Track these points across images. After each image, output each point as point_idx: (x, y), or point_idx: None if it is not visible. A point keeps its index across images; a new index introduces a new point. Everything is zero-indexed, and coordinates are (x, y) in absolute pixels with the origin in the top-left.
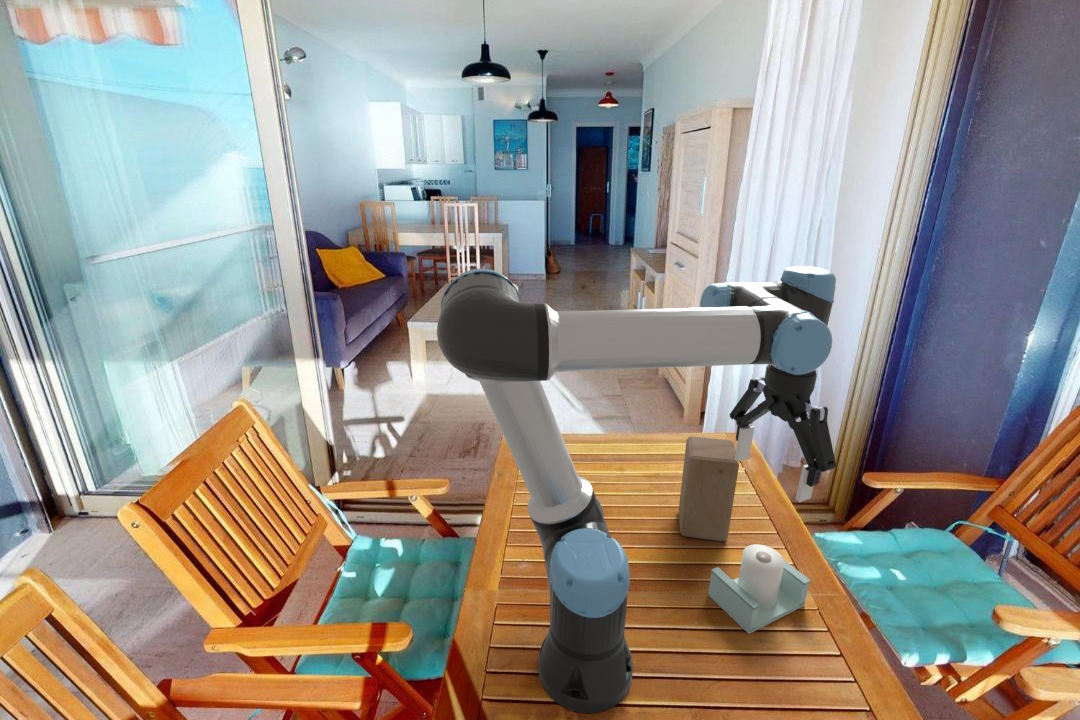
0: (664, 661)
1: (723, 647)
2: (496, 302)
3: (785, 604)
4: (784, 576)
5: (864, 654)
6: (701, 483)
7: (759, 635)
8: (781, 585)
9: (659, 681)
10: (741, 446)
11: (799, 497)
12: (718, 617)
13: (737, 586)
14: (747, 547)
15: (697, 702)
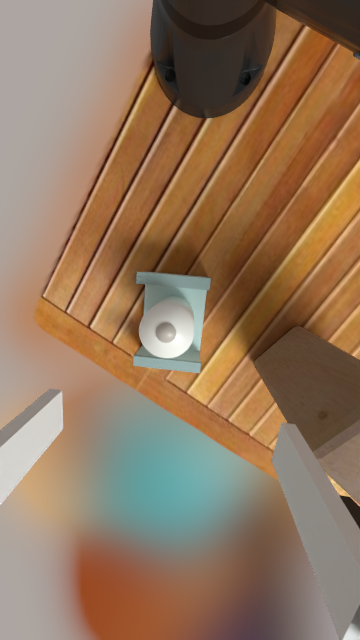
0: (168, 157)
1: (148, 233)
2: None
3: None
4: None
5: (80, 344)
6: (331, 374)
7: None
8: None
9: (152, 132)
10: (306, 477)
11: (41, 397)
12: (179, 261)
13: (171, 283)
14: (192, 331)
15: (115, 153)
